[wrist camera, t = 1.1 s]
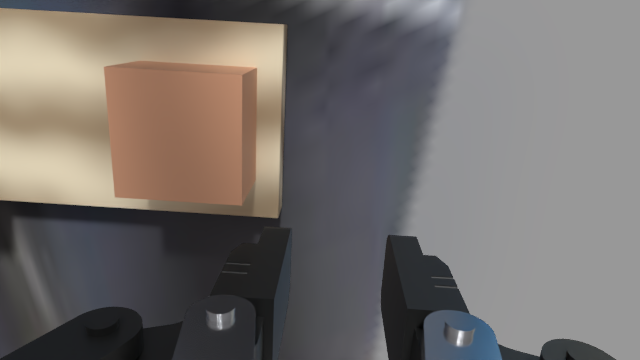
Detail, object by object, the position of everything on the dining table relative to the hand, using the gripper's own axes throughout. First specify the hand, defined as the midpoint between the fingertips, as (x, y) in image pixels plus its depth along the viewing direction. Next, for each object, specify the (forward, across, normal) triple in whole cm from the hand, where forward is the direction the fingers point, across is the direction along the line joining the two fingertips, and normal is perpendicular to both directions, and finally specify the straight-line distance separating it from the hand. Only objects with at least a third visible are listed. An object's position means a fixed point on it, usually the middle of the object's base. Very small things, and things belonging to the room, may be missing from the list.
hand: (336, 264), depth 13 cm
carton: (+17, +8, 0) cm, 19 cm away
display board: (+19, +18, 0) cm, 26 cm away
